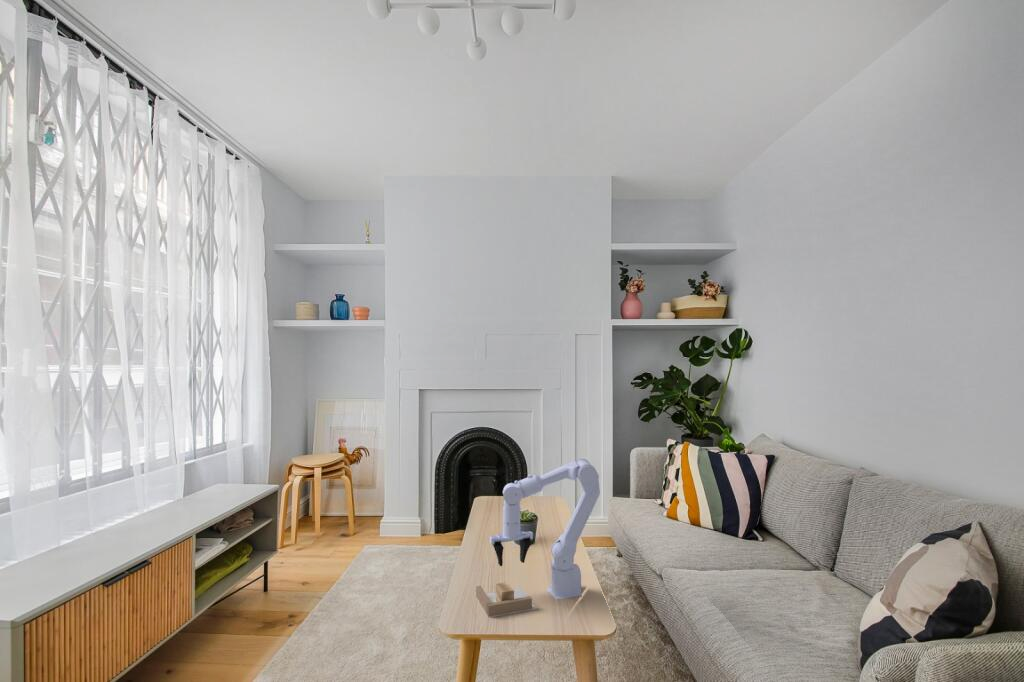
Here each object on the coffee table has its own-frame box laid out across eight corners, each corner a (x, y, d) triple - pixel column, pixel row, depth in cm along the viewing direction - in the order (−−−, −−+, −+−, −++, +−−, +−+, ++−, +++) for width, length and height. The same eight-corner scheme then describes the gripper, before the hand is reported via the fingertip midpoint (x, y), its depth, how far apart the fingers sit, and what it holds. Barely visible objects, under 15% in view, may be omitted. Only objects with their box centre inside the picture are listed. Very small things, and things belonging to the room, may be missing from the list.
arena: (520, 589, 165) (520, 578, 165) (537, 609, 151) (537, 598, 151) (475, 596, 159) (475, 585, 159) (488, 618, 146) (488, 606, 146)
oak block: (507, 597, 157) (507, 582, 157) (513, 607, 152) (514, 590, 152) (495, 599, 156) (495, 584, 156) (501, 609, 150) (501, 592, 150)
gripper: (527, 515, 168) (527, 555, 168) (487, 519, 163) (486, 561, 163) (535, 521, 162) (535, 563, 161) (493, 526, 157) (493, 570, 156)
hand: (511, 563), depth 162 cm, fingers open, 7 cm apart
